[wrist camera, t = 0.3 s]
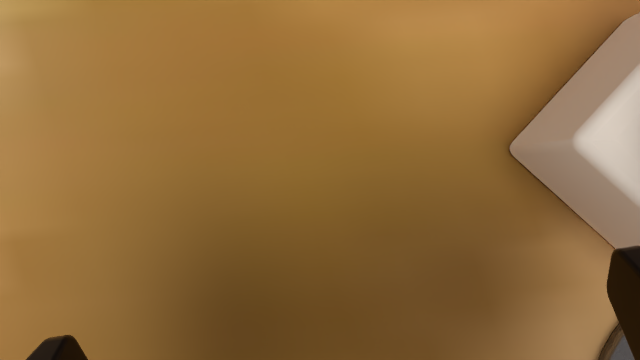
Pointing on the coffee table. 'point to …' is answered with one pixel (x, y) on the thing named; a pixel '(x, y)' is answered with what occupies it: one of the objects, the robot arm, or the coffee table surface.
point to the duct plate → (616, 347)
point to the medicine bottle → (594, 139)
